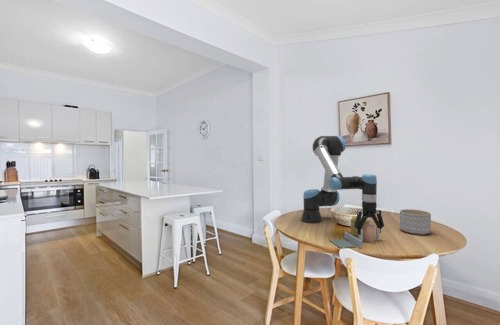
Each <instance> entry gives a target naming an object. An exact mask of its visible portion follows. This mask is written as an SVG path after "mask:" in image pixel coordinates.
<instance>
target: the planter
mask: <svg viewBox="0 0 500 325" xmlns="http://www.w3.org/2000/svg"><path fill="white" fill-rule="evenodd" d="M431 218H432V214H431V213H430V212H428V211H425V210H420V209H405V208H404V209H401V210H399V229H400V230H401V231H403V232H404V233H407V234H411V235H415V234H416V236H424V235H425V234H426V235H428V234H430V233H431V227H432V219H431ZM426 235H425V236H426Z"/></svg>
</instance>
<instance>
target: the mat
mask: <svg viewBox="0 0 500 325" xmlns="http://www.w3.org/2000/svg"><path fill="white" fill-rule="evenodd" d="M329 242H330V243H331V244H333V245H335V247H337V248H338V249H340V248H341V249H344V248H343V247H347V248H346V249H351V248H356V247H357V246H355V245H354V244H352V243H351V242H349V241H347V240H346V239H344V238H335V239H329Z"/></svg>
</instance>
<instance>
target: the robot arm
mask: <svg viewBox="0 0 500 325" xmlns="http://www.w3.org/2000/svg"><path fill="white" fill-rule="evenodd" d="M345 150H346V142H345V139H344V138H343V136H340V135H320V136H318V137H316V139H315V140H314V141H313V143H312V152H313V153H314V156H317V158H318V159H319V161H320V163H321V165H322V167H323V168H324V176H323V178H324V179H323V186H321V187H320V188H321V189H317V188H316V189H315V188H314V189H313V188H312V189H307V190H305V191H304V192H303V211H302V214H301V217H300V218H301V221H302V222H305V223H308V224H309V223H310V224H318V223H322V220H323V217H322V215H321V212H320V207H332V206H333V207H334V206H337V205H338V203H339V202H340V197H341V196H340V192H339V191H340V190H361V200H362V202H361V208H362V209H361V210H357V212H356V216H357V217H356V221H355V225H354V227H355V228H357V231H358V232H357V233H358V234H359V236H358V239H359V240H361V241H362V242H364V240H363V229H361V228H362V226H363V225H364V223H365V221H366V219H369V218H371V219H372V220H373V222H374V223H375V240H376V239H377V240H378V241H379V240H381V239H380V238H381V235H380V234H381V233H382V229H383V228H384V227H385V224H384V220H383V216H382V210H380V209H377V208H378V207H377V206H378V205H377V199H378V198H377V197H378V196H377V193H378V192H377V190H378V189H377V186H378V184H377V183H378V181H377V180H378V179H377V175H375V174H368V173H367V174H365V173H364V174H362V176H358V175H355V176H354V175H352V176H343V174H342V172H341V171H340V169H339V168H338V167H339V166H338V164H339V157H340V156H341V155H342V153H344V151H345ZM361 217H362V218H361Z"/></svg>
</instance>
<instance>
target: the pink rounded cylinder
mask: <svg viewBox="0 0 500 325" xmlns="http://www.w3.org/2000/svg"><path fill="white" fill-rule="evenodd" d="M363 242H366V243H368V244H369V243H370V244H371V243H375V242H376V224H375V225H374V224H372V223H369V224H364V225H363Z"/></svg>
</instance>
